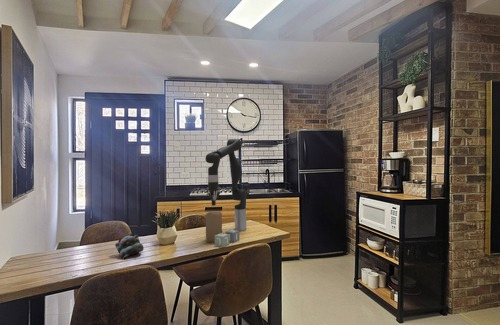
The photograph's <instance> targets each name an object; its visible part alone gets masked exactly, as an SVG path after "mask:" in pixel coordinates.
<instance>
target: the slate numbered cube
mask: <svg viewBox="0 0 500 325" xmlns="http://www.w3.org/2000/svg"><path fill="white" fill-rule="evenodd" d="M225 234H229V243H233V244H235V243H236V242H240V231H237V230H235V229H229V230H227V231H225Z"/></svg>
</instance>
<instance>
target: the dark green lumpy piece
mask: <svg viewBox="0 0 500 325" xmlns="http://www.w3.org/2000/svg"><path fill="white" fill-rule="evenodd" d="M114 246H115V248H116V250H117V253H118V256H119V258H120V257H121V258H120V259H122V258H124V259H125V258H127V257H130V256H132V255H135V254H139V253H141V252H143V251H144V249H145V248H144V245H143V244H142V243H141V241H140V238H139V235H137V234H135V235H134V234H133V233H131V234H129V235H126V236H124V237H123V238H119V239H118V241H117V242H116V243H115V244H114Z"/></svg>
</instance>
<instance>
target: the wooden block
mask: <svg viewBox="0 0 500 325" xmlns="http://www.w3.org/2000/svg"><path fill="white" fill-rule="evenodd" d="M222 216H223V214H222V212H221V211H209V212H207V213H206V214H205V241H206V243H215V235H217V234H220V233H223V217H222Z"/></svg>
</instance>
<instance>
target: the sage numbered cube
mask: <svg viewBox="0 0 500 325" xmlns="http://www.w3.org/2000/svg"><path fill="white" fill-rule="evenodd" d="M214 246H215V247H220V248H224V247H227V246H230V242H229V234H226V233H223V232H222V233H220V234H217V235H215V242H214Z"/></svg>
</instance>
